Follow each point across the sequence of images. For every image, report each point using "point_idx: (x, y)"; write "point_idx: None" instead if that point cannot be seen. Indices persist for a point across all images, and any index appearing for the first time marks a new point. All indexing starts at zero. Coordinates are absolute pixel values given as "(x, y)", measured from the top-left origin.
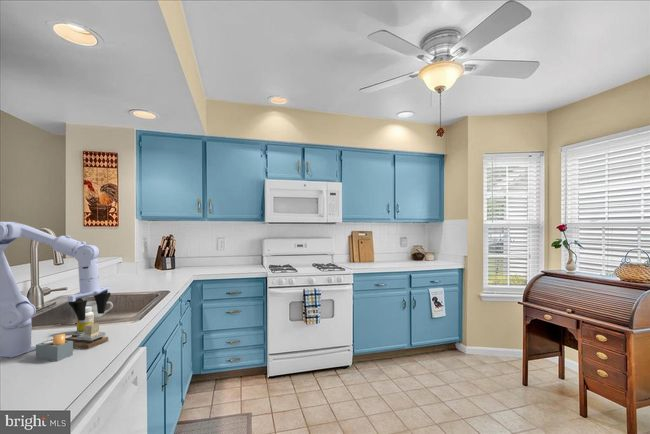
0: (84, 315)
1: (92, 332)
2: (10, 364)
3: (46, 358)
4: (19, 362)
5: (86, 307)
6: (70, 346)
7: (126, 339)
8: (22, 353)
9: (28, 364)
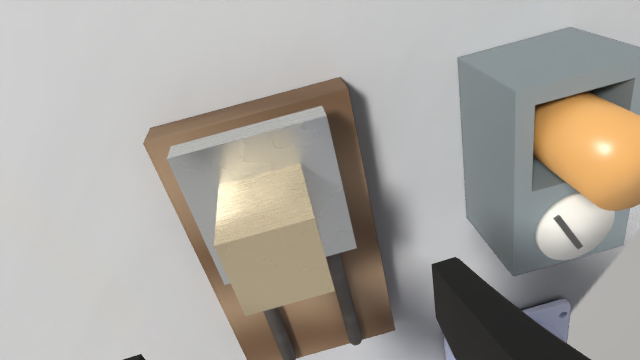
0: (483, 300)
1: (291, 182)
2: (632, 217)
3: None
4: None
5: None
6: (514, 74)
7: (9, 13)
8: (523, 311)
9: None
